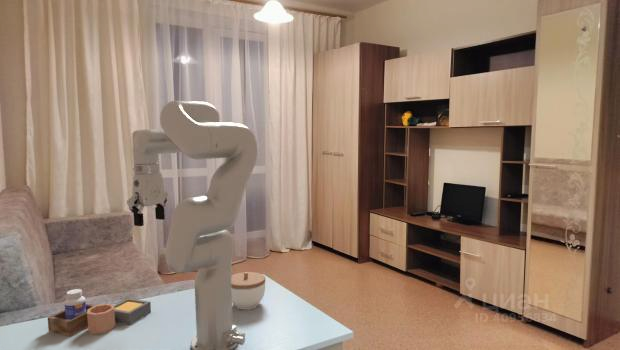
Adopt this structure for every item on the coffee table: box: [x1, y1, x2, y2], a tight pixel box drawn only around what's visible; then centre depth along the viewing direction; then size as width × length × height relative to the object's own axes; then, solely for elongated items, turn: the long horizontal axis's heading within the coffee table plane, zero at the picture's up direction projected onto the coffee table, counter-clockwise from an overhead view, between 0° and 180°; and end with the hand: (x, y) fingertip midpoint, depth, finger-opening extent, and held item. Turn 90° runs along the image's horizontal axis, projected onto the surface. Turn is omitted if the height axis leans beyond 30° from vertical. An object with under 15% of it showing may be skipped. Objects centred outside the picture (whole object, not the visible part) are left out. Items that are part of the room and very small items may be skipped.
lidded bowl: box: [231, 271, 266, 311], centre depth 136 cm, size 13×13×11 cm
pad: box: [114, 301, 142, 312], centre depth 129 cm, size 6×6×1 cm
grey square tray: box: [113, 297, 152, 325], centre depth 129 cm, size 9×9×4 cm
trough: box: [47, 303, 97, 337], centre depth 123 cm, size 8×11×4 cm
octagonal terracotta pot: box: [87, 303, 116, 335], centre depth 121 cm, size 7×7×6 cm
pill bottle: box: [64, 288, 87, 320], centre depth 123 cm, size 5×5×10 cm
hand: (149, 222), depth 133 cm, fingers open, 9 cm apart
